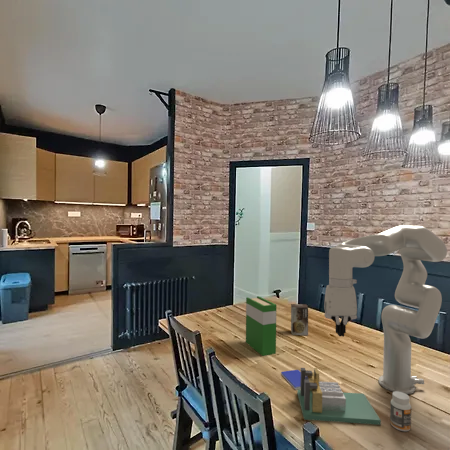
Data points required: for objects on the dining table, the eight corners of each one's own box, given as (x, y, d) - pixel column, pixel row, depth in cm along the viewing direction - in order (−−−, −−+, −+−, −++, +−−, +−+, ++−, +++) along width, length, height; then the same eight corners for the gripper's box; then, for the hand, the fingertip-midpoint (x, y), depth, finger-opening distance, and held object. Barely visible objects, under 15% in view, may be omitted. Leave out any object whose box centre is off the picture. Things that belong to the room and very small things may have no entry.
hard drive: (314, 384, 120) (298, 369, 132) (295, 387, 117) (281, 371, 129) (314, 388, 120) (298, 373, 132) (295, 391, 117) (280, 375, 129)
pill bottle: (408, 435, 93) (409, 402, 93) (387, 426, 97) (388, 395, 97) (412, 425, 97) (413, 395, 97) (392, 418, 101) (393, 388, 101)
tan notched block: (313, 389, 114) (314, 361, 114) (322, 412, 100) (322, 381, 100) (305, 389, 114) (305, 361, 114) (312, 412, 101) (313, 380, 100)
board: (363, 397, 113) (364, 368, 112) (380, 424, 98) (381, 391, 97) (297, 393, 115) (297, 365, 115) (304, 419, 100) (304, 386, 100)
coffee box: (306, 331, 179) (306, 304, 179) (308, 335, 173) (308, 307, 173) (290, 330, 180) (291, 303, 180) (291, 334, 174) (292, 306, 174)
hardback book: (245, 342, 162) (246, 297, 162) (257, 340, 165) (258, 296, 165) (262, 356, 146) (263, 306, 146) (275, 353, 149) (276, 304, 149)
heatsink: (337, 394, 111) (337, 380, 111) (345, 412, 102) (345, 395, 101) (314, 393, 112) (315, 378, 112) (320, 410, 102) (321, 394, 102)
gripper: (359, 280, 109) (359, 331, 109) (316, 280, 110) (316, 330, 111) (367, 285, 102) (366, 340, 102) (320, 284, 103) (320, 338, 103)
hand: (340, 334), depth 106 cm, fingers closed
